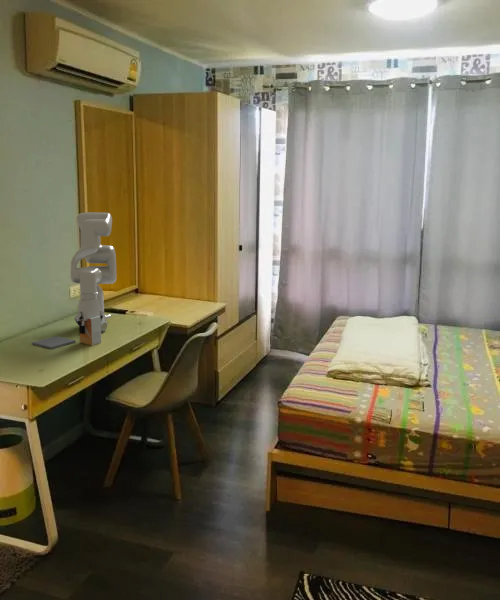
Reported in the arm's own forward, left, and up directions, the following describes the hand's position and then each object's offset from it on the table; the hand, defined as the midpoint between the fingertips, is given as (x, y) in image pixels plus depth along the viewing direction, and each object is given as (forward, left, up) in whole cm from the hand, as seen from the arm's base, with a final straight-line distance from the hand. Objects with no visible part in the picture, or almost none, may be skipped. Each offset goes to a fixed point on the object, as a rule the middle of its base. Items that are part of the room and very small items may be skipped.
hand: (90, 331), depth 284 cm
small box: (0, 0, -6) cm, 6 cm away
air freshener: (-16, -13, -6) cm, 22 cm away
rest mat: (+11, -13, -6) cm, 18 cm away
